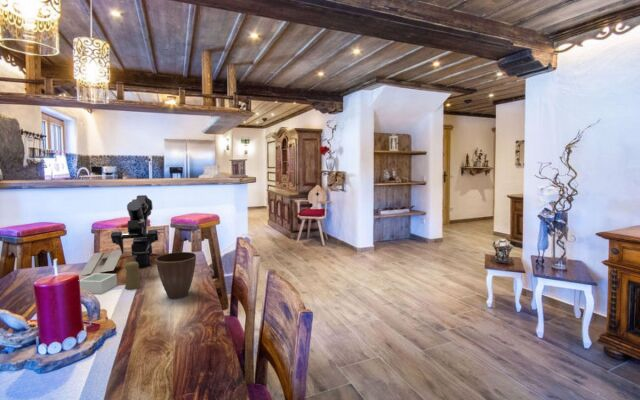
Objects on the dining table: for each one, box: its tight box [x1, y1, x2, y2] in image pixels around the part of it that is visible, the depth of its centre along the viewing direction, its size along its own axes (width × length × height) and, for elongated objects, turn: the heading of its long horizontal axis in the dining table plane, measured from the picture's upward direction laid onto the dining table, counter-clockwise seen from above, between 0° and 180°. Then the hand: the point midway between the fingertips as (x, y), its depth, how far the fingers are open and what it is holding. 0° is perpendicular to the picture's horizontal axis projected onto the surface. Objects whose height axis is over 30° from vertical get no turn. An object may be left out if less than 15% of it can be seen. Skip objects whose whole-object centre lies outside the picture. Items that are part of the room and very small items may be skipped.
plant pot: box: [155, 251, 197, 300], centre depth 138 cm, size 15×15×16 cm
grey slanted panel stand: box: [79, 249, 123, 276], centre depth 171 cm, size 16×9×15 cm
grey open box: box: [79, 273, 118, 295], centre depth 145 cm, size 10×10×5 cm
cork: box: [124, 260, 142, 291], centre depth 147 cm, size 6×6×11 cm
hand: (134, 252), depth 154 cm, fingers open, 9 cm apart
